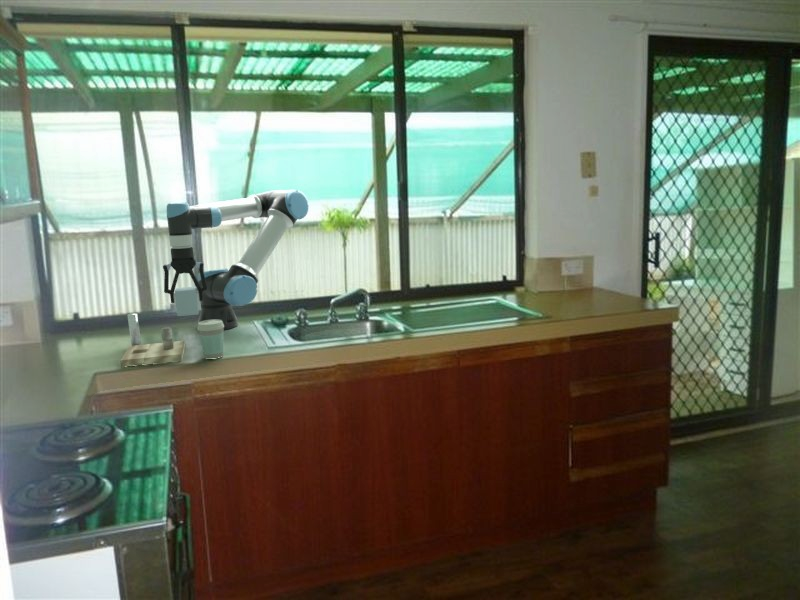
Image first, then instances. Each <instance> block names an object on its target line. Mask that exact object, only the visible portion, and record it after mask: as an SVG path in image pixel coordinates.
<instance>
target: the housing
mask: <svg viewBox="0 0 800 600" xmlns="http://www.w3.org/2000/svg"><path fill="white" fill-rule="evenodd" d="M197 292H198V289H197V287H196V286H186V287H184V286H183V287H175V290H174V293H175V298H176V308H177V312H176V316H177V317H184V316H185V317H186V316H196V315H199V314H200V311H198V304H197Z"/></svg>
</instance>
